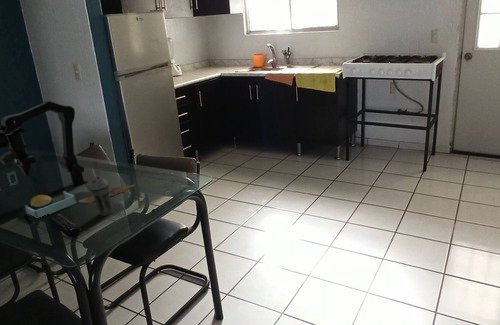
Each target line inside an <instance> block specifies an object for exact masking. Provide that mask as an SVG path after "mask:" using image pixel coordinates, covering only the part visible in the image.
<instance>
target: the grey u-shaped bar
mask: <svg viewBox="0 0 500 325" xmlns="http://www.w3.org/2000/svg"><path fill="white" fill-rule="evenodd" d="M62 194H63V197H64V199H62V200H58V201H57V202H54V203H50V204H48V205H45V206H43V207H42V208H39V209H36V210H35V209H33V208H31V207H30V206H29V205H28V204H26V205H24V207H25V211H26V215H28V214H30V215H32V216H34V217H35V218H39V217H41V218H43V217H42V216H44V215H46V216H48V215H47V214H49V215H51V214H54V213H56V212H58V211H60V210H64V209H65V208H68V207H71V206H73V205H75V204H77V203H78V202H77V199H76V196H75V195H74V194H72V193H68V192H67V191H66V190H64V191H62ZM30 215H29V216H30ZM32 216H31V217H32ZM44 217H45V216H44ZM35 218H34V219H35ZM39 219H40V218H39Z"/></svg>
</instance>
